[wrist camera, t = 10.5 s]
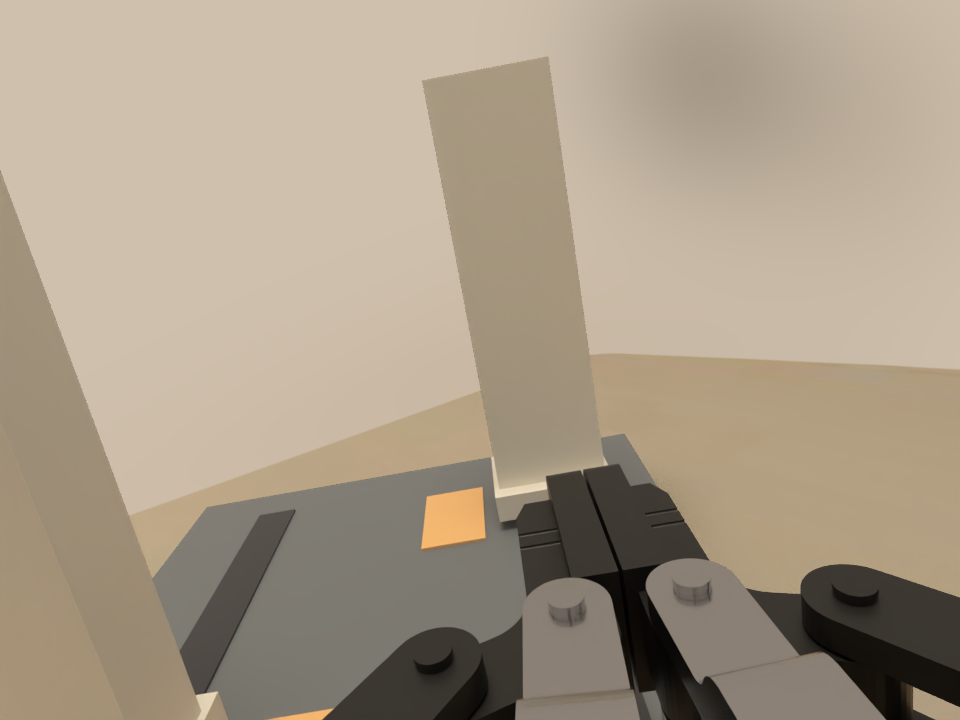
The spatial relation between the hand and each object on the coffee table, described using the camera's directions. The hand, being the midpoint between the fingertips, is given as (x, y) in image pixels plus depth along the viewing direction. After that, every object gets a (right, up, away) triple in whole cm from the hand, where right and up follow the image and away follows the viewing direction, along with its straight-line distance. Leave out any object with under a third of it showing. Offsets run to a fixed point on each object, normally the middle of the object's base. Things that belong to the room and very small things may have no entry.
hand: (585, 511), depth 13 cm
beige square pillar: (+1, -2, +13) cm, 13 cm away
